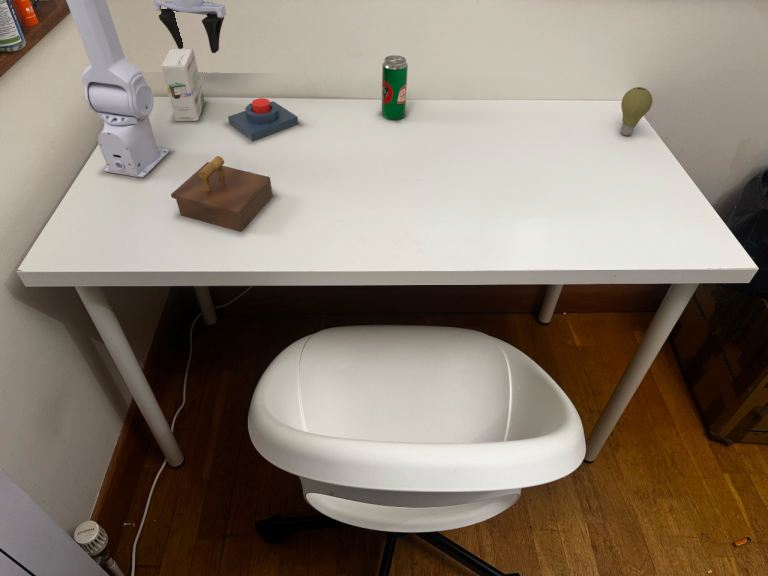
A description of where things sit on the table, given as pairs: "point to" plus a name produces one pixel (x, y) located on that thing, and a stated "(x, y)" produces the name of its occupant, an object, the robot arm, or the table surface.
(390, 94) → the soda can
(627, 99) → the light bulb
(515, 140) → the table surface
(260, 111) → the button
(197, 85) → the ink box
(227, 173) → the chest lid
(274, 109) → the box
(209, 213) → the chest
